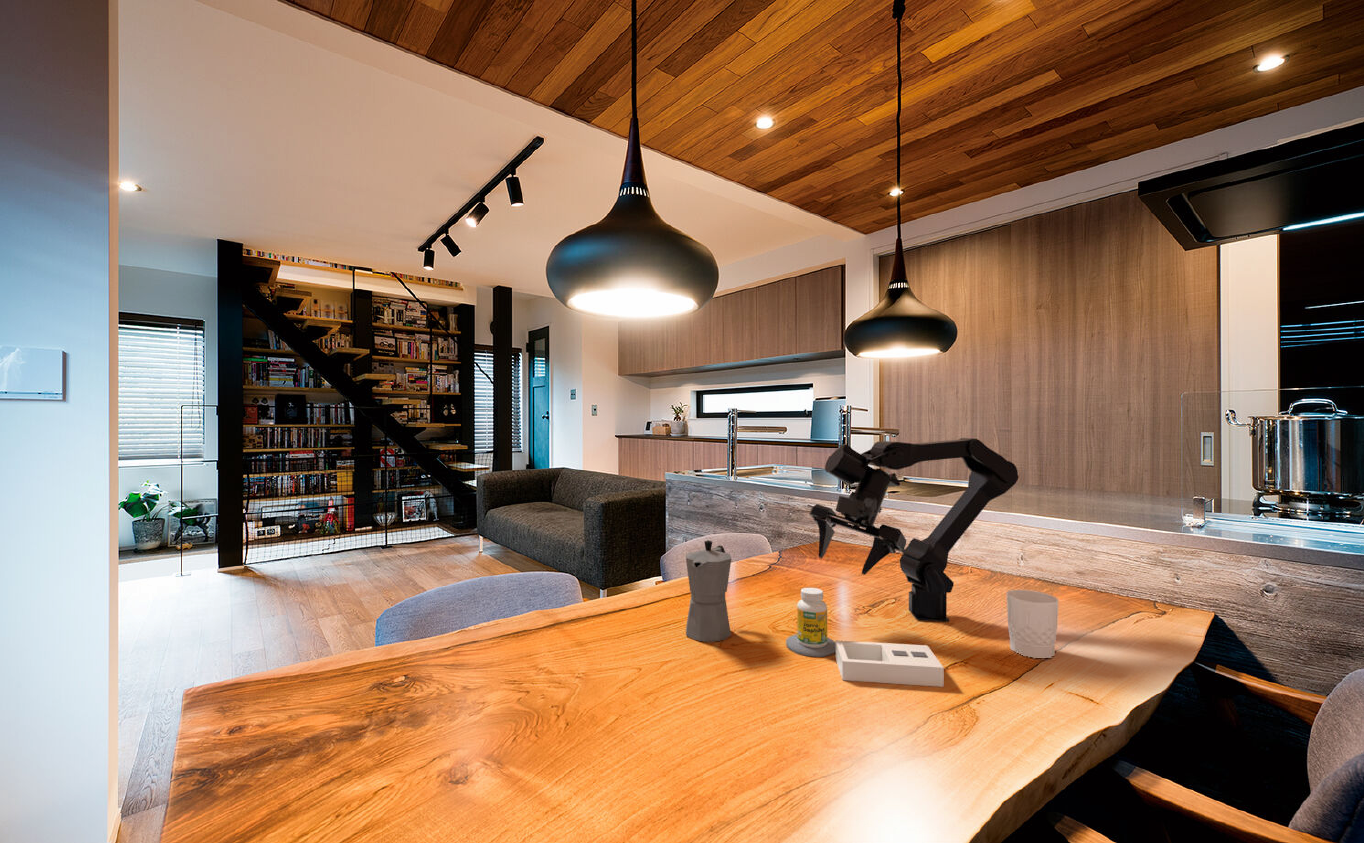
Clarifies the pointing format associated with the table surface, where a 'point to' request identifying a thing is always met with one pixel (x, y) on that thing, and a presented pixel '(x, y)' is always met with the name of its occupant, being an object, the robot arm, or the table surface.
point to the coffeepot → (708, 594)
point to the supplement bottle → (812, 618)
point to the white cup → (1032, 622)
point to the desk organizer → (888, 663)
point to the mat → (807, 651)
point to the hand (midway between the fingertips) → (840, 565)
